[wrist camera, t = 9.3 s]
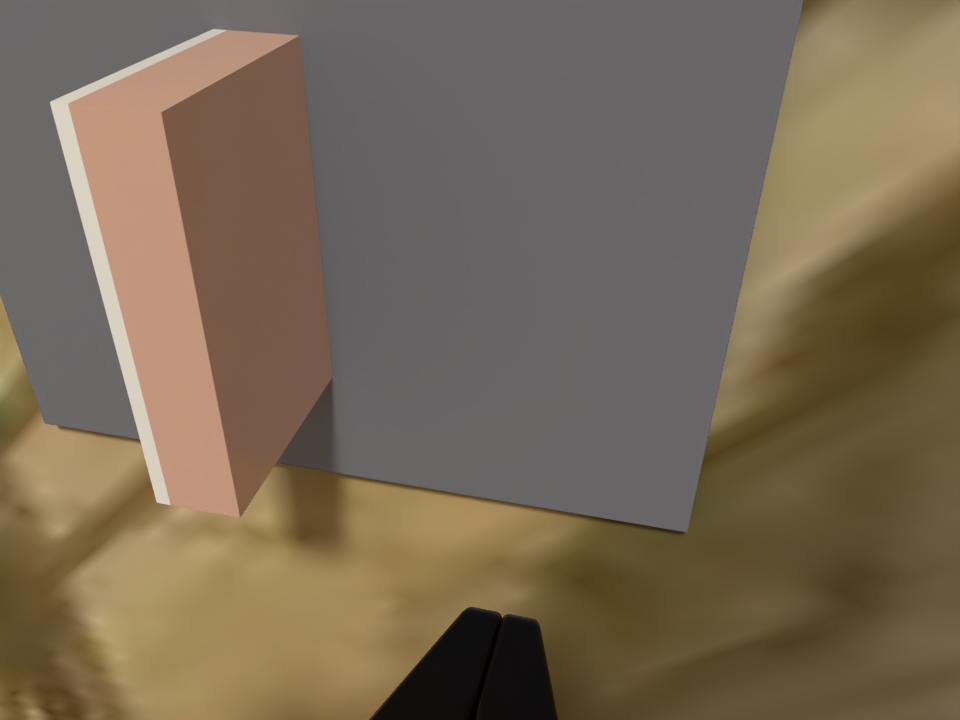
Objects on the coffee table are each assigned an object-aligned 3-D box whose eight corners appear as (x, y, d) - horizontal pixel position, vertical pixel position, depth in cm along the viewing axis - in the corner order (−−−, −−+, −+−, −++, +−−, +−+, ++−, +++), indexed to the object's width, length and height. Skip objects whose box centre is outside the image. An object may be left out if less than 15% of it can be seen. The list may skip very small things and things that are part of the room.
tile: (299, 35, 16) (160, 112, 12) (332, 377, 20) (240, 517, 16) (213, 28, 16) (50, 102, 12) (264, 366, 21) (156, 502, 17)
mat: (860, -279, 12) (864, -281, 12) (687, 521, 21) (687, 532, 21) (-181, -282, 15) (-200, -285, 15) (53, 415, 24) (45, 423, 24)
